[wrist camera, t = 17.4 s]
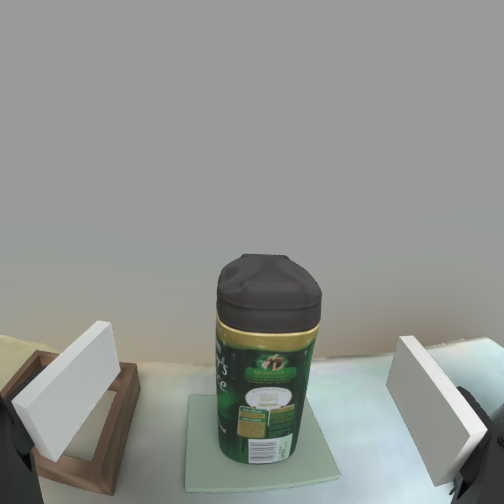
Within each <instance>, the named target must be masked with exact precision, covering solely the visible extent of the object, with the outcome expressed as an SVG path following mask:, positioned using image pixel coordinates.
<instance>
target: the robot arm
mask: <svg viewBox="0 0 504 504" xmlns="http://www.w3.org/2000/svg"><path fill="white" fill-rule="evenodd" d="M120 371H121V370H120V366H119V361H118V356H117V351H116V346H115V341H114V335H113V330H112V324H111V322H104V321H97V322H96V323H95V324H93V325H92V326H91V327H90V328H89V329H88V330H87V331H86V332H85V333H83V334H82V335H81V336H80V337H79V338H78V339H77V340H75V341H74V342H73V343H72V344H71V345H70V346H69V347H68V348H67V349H66V350H65V351H63V352H62V353H61V354H60V355H59V356H58V357H57V358H56V359H55V360H54V361H53V362H51V363H50V364H49V365H48V366H47V365H45V366H43V367H41V368H39V369H37V370H35V371H34V372H33V373H32V374H31V375H30V376H29V378H27V379H26V380H25V381H23V383H21V384H20V385H19V386H18V387H17V388H16V389H15V390H14V391H13V392H12V393H11V394H10V395H9V396H8V397H7V398H6V399H5V400H3V398H2V396H1V394H0V504H44V502H43V498H42V494H41V490H40V485H39V481H38V476H37V471H36V465H35V459H34V455H33V452H32V451H31V449H32V448H33V447H34V446H36V448H37V450H38V451H39V453H40V454H41V455H42V456H44V457H46V458H48V459H50V460H52V461H54V462H57V460H58V459H59V457H60V456H61V454H62V453H63V451H64V450H65V448H66V447H67V446H68V444H69V443H70V441H71V440H72V438H73V437H74V435H75V434H76V432H77V431H78V430H79V428H80V427H81V425H82V424H83V422H84V421H85V420H86V418H87V417H88V415H89V414H90V413H91V411H92V410H93V408H94V407H95V405H96V404H97V403H98V401H99V400H100V398H101V397H102V396H103V394H104V393H105V392H106V390H107V389H108V387H109V386H110V385H111V383H112V382H113V381H114V379H115V378H116V376H117V375H118V374H119V372H120ZM386 386H387V388H388V390H389V392H390V394H391V396H392V398H393V400H394V402H395V404H396V406H397V408H398V410H399V412H400V414H401V416H402V418H403V420H404V422H405V424H406V426H407V428H408V430H409V432H410V434H411V436H412V438H413V440H414V442H415V445H416V447H417V449H418V451H419V453H420V455H421V457H422V460H423V462H424V464H425V466H426V468H427V471H428V473H429V475H430V477H431V479H432V482H433V484H434V486H435V487H436V486H439V485H442V484H445V483H448V482H450V481H452V480H453V479H454V480H455V487H454V488H453V489H452V490H451V492H450V493H449V495H452V493H453V492H454V491H455V490H456V491H455V494H454V496H453V499H452V502H451V504H504V403H503V404H502V405H501V406H500V407H499V408H498V409H497V411H496V412H495V413H493V414H492V415H491V416H490V417H489V416H488V415H487V414H486V413H485V411H484V410H483V409H482V408H480V407H481V406H480V405H479V404H478V402H476V400H475V399H474V397H473V396H472V395H471V394H470V392H468V391H467V390H465V389H464V388H462V387H461V386H459V387H455V386H454V384H453V383H452V382H451V381H450V379H449V378H448V377H447V376H446V374H445V373H444V372H443V371H442V369H441V368H440V367H439V366H438V364H437V363H436V362H435V361H434V360H433V358H432V357H431V356H430V355H429V354H428V352H427V351H426V350H425V349H424V348H423V346H422V345H421V344H420V343H419V342H418V341H417V339H416V338H415V337H414V336H400V337H399V340H398V344H397V348H396V351H395V355H394V359H393V362H392V366H391V369H390V372H389V376H388V379H387V382H386Z"/></svg>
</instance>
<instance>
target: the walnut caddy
mask: <svg viewBox="0 0 504 504" xmlns="http://www.w3.org/2000/svg"><path fill="white" fill-rule="evenodd" d="M59 355H60V354H55V353H50V352H44V351H39V350H36V351H35V352H34V353H33V354H32V355H31V356H30V358H29V359H28V360H27V361H26V362H25V363H24V364H23V365H22V367H21V368H20V369H19V370H18V371H17V372H16V374H15V375H14V376H13V377H12V378H11V380H10V381H9V382H8V383H7V384H6V386H5V387H4V388H3V389H2V390H1V392H0V394H1V396H2V398H3V400H5V399H6V398H7V397H8V396H9V395H10V394H11V393H12V392H13V391H14V390H15V389H16V388H17V387H18V386H19V385H20V384H21V383H23V381H25V380H26V379H27V378H29V376H30V375H31V374H32V373H33V372H34V371H35V370H37V369H39V368H41V367H43V366H45V365H47V366H48V365H49V364H50V363H51V362H53V361H54V360H55V359H56V358H57V357H58V356H59ZM119 366H120V370H121V371H120V372H119V374H118V375H117V376H116V378H115V379H114V381H113V382H112V383H111V385H110V386H109V387H108V389H107V390H112V391H117V393H116V396H115V398H114V401H113V403H112V406H111V409H110V411H109V414H108V417H107V419H106V422H105V425H104V428H103V430H102V433H101V436H100V439H99V442H98V445H97V448H96V450H95V453H94V456H93V459H92V462H91V461H86V460H82V459H78V458H74V457H70V456H66V455H62V454H61V456H60V457H59V459H58V460H57V462H54V461H52V460H50V459H48V458H46V457H44V456H42V455H41V454H40V453H39V451H38V450H37V448H36V446H34V447H33V448H32V449H31V451H32V452H33V455H34V459H35V465H36V471H37V475H39V476H42V477H45V478H48V479H51V480H54V481H57V482H60V483H63V484H67V485H70V486H74V487H77V488H81V489H85V490H89V491H93V492H97V493H102V494H107V495H111V496H113V493H114V488H115V484H116V479H117V475H118V471H119V467H120V463H121V459H122V455H123V451H124V447H125V443H126V439H127V435H128V431H129V428H130V424H131V420H132V417H133V413H134V410H135V406H136V403H137V399H138V396H139V392H140V389H141V388H140V383H139V377H138V371H137V365H136V364H134V363H122V362H119Z"/></svg>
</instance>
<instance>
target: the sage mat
mask: <svg viewBox="0 0 504 504" xmlns="http://www.w3.org/2000/svg"><path fill="white" fill-rule="evenodd" d="M217 412H218V411H217V395H190V398H189V412H188V428H187V447H186V470H185V490H186V492H202V493H225V492H249V491H263V490H273V489H282V488H290V487H297V486H304V485H310V484H315V483H321V482H326V481H331V480H335V479H339V477H340V475H341V474H340V472H339V469H338V467H337V465H336V463H335V461H334V458H333V456H332V454H331V452H330V449H329V447H328V445H327V443H326V441H325V438H324V436H323V434H322V432H321V429H320V427H319V425H318V423H317V420H316V418H315V416H314V414H313V411H312V409H311V407H310V405H309V402H308V400H307V398H306V396H305V401H304V407H303V413H302V419H301V424H300V430H299V435H298V440H297V444H296V448H295V451H294V453H293V454H292V455H291V456H290V457H289V458H287V459H285V460H283V461H280V462H276V463H272V464H262V465H256V464H245V463H240V462H236V461H234V460H232V459H230V458H228V457H227V456H226V455H225V454H224V453H223V452H222V450H221V448H220V445H219V437H218V415H217Z"/></svg>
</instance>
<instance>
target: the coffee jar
mask: <svg viewBox="0 0 504 504" xmlns="http://www.w3.org/2000/svg"><path fill="white" fill-rule="evenodd" d="M321 297H322V292H321V289H320V287H319V286H318V284H317V282H316V281H315V280H314V278H313V277H312V276H311V275H310V274H309V273H308V272H307V271H306V270H305V269H304V268H302V267H301V266H299V265H298V264H296V263H295V262H293V261H291V260H290V259H289V258H288V257H287V256H284V255H264V254H263V255H261V254H243V255H242V256H241V257H240V258H239V259H236V260H234V261H232V262H231V263H229V264H228V265H226V266H225V267H224V268H223V269H222V271H221V274H220V276H219V280H218V287H217V303H216V385H217V411H218V412H217V415H218V437H219V445H220V448H221V450H222V452H223V453H224V454H225V455H226V456H227V457H228V458H230V459H232V460H234V461H236V462H240V463H245V464H256V465H262V464H272V463H276V462H280V461H283V460H285V459H287V458H289V457H290V456H291V455H292V454H293V453H294V451H295V448H296V444H297V440H298V435H299V430H300V424H301V419H302V413H303V407H304V401H305V396H306V390H307V384H308V378H309V371H310V365H311V359H312V353H313V348H314V343H315V340H316V336H317V333H318V328H319V324H320V317H321Z"/></svg>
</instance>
